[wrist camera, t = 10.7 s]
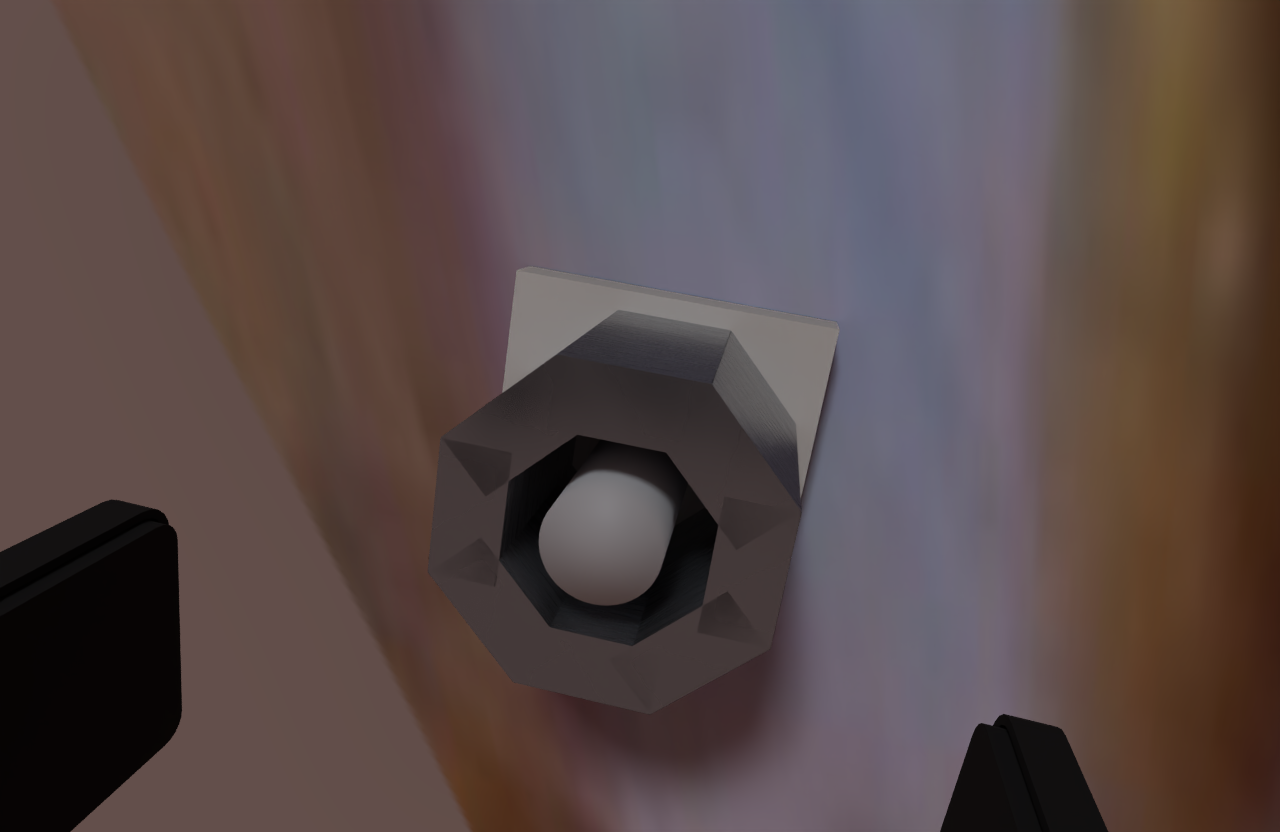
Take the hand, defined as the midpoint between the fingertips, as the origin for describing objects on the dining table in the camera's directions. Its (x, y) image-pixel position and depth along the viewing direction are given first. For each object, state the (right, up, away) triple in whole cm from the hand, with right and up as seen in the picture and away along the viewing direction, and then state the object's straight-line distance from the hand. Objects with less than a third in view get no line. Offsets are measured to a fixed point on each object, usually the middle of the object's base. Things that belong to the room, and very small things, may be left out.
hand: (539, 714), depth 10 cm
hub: (+1, +3, +12) cm, 12 cm away
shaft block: (+2, +3, +13) cm, 14 cm away
